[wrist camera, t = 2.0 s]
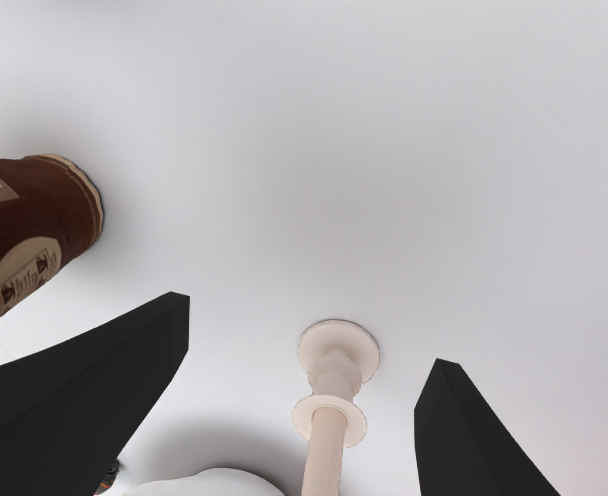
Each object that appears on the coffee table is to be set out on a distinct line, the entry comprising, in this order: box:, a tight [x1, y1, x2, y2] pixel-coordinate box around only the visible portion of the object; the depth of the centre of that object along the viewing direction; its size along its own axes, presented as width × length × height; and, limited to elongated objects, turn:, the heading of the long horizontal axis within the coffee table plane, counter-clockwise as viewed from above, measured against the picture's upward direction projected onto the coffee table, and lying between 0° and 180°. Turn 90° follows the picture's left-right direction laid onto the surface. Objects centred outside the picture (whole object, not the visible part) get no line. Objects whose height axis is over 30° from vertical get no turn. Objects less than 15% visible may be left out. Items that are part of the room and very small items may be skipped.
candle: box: [292, 320, 380, 496], centre depth 18 cm, size 5×5×10 cm
